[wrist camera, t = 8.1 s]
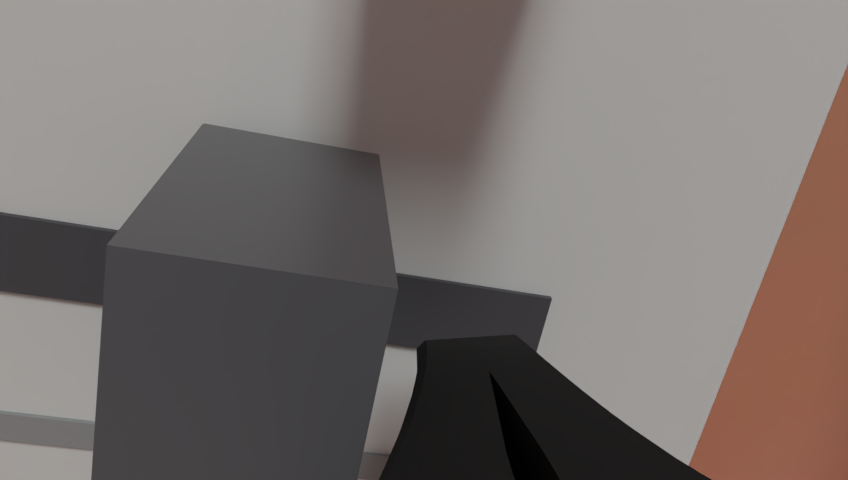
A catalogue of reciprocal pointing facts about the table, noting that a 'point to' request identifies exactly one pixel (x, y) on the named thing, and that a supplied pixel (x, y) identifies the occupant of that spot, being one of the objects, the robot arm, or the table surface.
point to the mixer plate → (427, 178)
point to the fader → (246, 315)
